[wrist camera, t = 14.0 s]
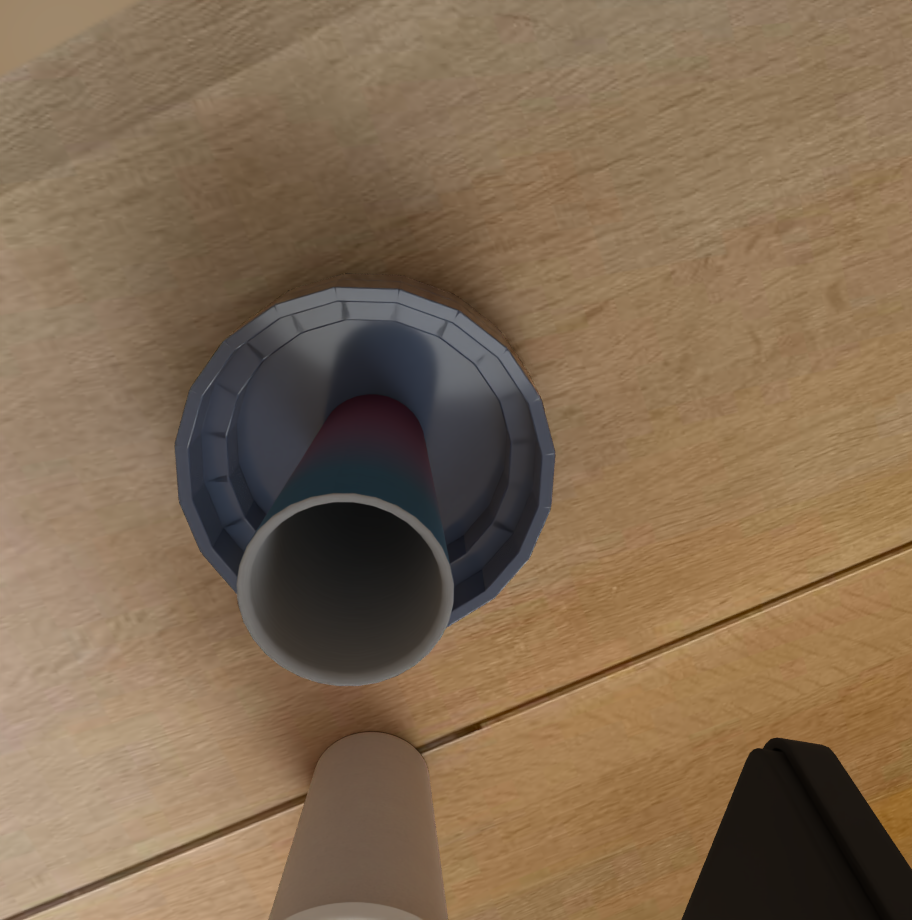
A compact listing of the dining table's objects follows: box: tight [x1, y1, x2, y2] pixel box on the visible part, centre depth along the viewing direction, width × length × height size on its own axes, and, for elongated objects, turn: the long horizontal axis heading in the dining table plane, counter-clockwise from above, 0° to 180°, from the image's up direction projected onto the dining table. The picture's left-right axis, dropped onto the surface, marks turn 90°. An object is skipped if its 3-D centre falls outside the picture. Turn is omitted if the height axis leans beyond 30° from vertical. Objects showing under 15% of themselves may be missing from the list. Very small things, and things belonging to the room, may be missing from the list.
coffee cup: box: [268, 732, 448, 920], centre depth 41 cm, size 10×10×15 cm
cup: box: [236, 394, 454, 686], centre depth 34 cm, size 7×7×15 cm
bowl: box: [175, 273, 555, 628], centre depth 39 cm, size 16×16×5 cm
